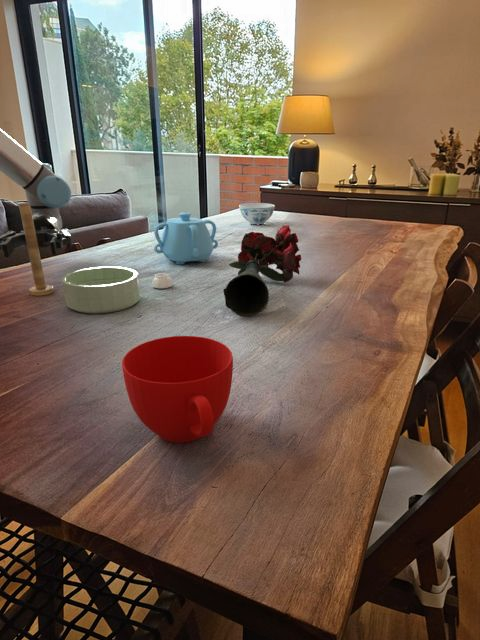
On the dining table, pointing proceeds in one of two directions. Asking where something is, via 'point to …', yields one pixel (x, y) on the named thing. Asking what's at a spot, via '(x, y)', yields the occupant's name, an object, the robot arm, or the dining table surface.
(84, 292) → the bowl
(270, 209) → the chinaware
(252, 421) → the dining table surface
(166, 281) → the white jar
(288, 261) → the red rose bouquet
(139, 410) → the ceramic cup
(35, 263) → the stirrer
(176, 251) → the decorative pot
